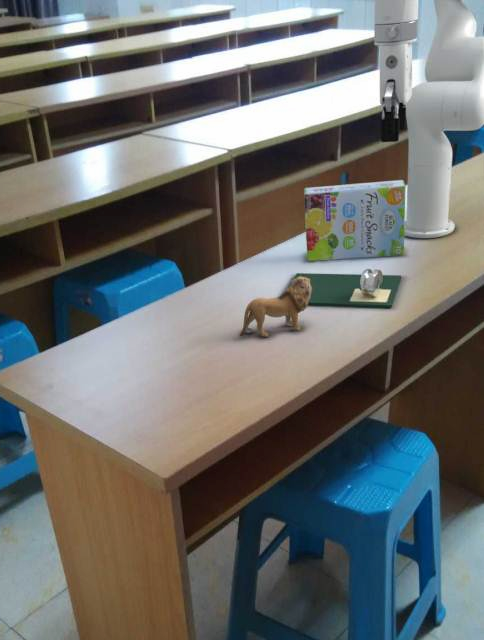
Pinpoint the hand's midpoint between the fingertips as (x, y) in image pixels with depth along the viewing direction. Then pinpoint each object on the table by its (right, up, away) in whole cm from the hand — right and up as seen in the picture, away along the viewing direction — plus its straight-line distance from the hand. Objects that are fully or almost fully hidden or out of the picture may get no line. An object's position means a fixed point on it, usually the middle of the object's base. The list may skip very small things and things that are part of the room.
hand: (393, 135), depth 137 cm
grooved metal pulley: (-4, -30, +2) cm, 31 cm away
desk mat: (-9, -28, +7) cm, 31 cm away
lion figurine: (-22, -38, -5) cm, 45 cm away
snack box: (-4, -17, +23) cm, 29 cm away
